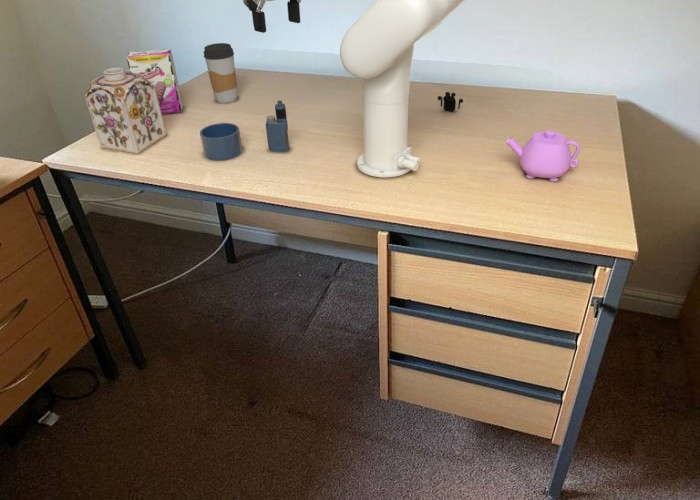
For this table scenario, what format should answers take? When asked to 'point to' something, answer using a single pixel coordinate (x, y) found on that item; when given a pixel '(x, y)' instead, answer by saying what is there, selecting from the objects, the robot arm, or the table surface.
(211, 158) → the pen cup
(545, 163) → the teapot
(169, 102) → the candy bar box
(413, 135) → the table surface
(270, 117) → the vaping device
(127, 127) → the decorative jar
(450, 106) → the wireless earbuds
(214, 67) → the coffee cup
